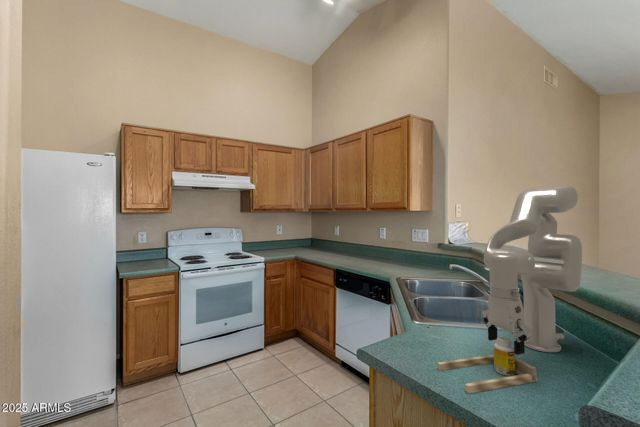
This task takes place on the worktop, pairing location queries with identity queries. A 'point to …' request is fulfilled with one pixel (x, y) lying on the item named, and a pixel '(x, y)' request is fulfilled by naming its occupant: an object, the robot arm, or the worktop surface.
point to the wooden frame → (521, 368)
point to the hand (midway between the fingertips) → (505, 346)
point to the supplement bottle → (504, 356)
